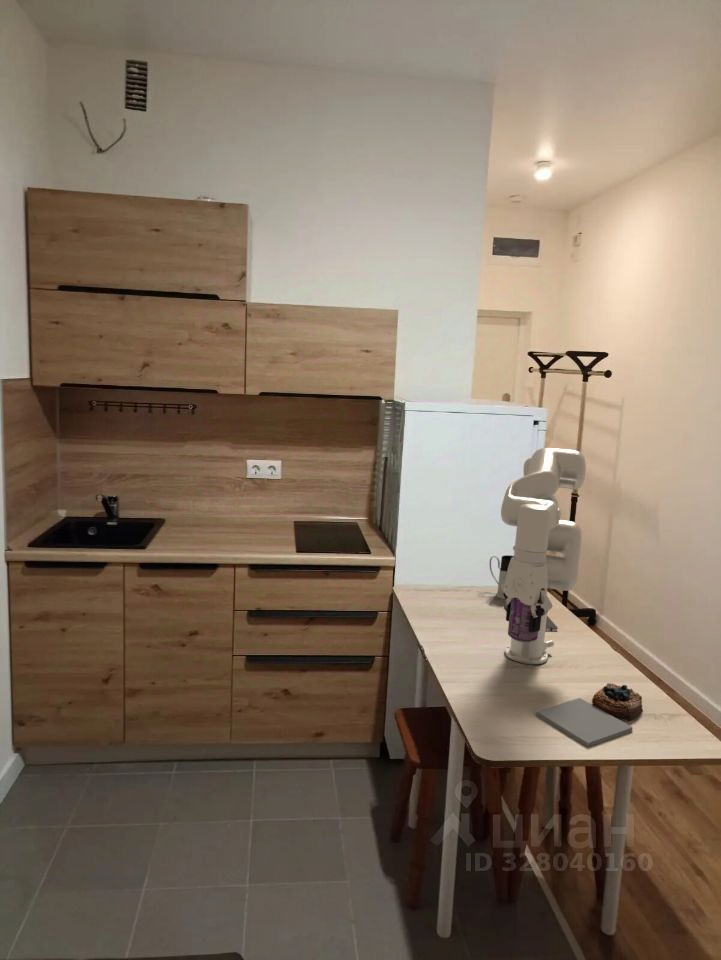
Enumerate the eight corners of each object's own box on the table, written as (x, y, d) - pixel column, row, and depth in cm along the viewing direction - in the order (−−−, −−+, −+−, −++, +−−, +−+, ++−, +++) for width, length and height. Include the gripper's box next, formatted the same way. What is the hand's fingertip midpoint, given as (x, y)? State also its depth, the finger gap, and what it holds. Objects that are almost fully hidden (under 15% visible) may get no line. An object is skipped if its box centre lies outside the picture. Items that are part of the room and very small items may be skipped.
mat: (579, 701, 177) (579, 697, 176) (632, 731, 163) (632, 727, 163) (535, 714, 168) (536, 711, 168) (587, 747, 155) (588, 743, 155)
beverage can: (516, 630, 171) (520, 584, 169) (542, 638, 167) (547, 592, 165) (502, 637, 166) (506, 591, 164) (528, 646, 162) (533, 599, 160)
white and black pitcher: (510, 601, 251) (514, 562, 249) (480, 590, 262) (483, 553, 259) (524, 597, 257) (528, 559, 255) (494, 587, 268) (497, 550, 265)
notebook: (503, 608, 245) (520, 631, 224) (504, 604, 245) (521, 626, 224) (538, 610, 246) (558, 632, 225) (538, 605, 246) (558, 628, 225)
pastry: (646, 709, 175) (649, 688, 174) (630, 725, 166) (633, 703, 165) (604, 694, 182) (607, 673, 181) (586, 709, 173) (589, 687, 172)
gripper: (493, 547, 168) (486, 615, 171) (546, 567, 153) (537, 641, 156) (515, 544, 172) (508, 611, 175) (568, 564, 157) (560, 636, 160)
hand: (522, 625), depth 166 cm, fingers closed on beverage can, 7 cm apart
